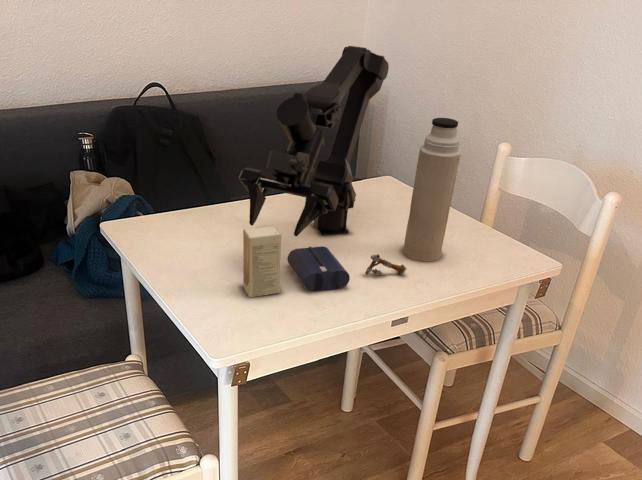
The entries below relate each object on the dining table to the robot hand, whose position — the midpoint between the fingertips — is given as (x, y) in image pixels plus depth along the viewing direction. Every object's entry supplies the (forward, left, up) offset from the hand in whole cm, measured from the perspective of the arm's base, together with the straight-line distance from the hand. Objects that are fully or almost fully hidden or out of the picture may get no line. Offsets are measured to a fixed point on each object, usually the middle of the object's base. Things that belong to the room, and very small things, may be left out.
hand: (272, 230), depth 125 cm
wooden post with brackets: (-24, +2, -11) cm, 26 cm away
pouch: (-10, 0, -11) cm, 14 cm away
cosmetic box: (+3, +3, -11) cm, 12 cm away
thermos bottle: (-36, -6, -11) cm, 38 cm away
